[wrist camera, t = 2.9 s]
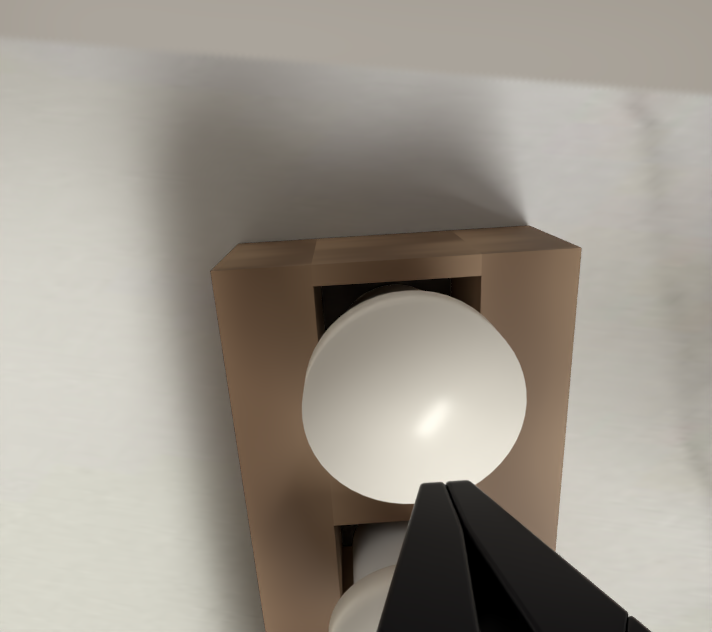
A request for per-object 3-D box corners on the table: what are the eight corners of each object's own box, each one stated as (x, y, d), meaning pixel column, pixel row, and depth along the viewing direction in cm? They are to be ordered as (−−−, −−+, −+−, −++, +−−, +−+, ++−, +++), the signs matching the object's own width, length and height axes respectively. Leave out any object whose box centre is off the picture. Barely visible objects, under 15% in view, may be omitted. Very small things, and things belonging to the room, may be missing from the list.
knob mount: (528, 225, 17) (581, 247, 14) (505, 678, 24) (535, 776, 21) (238, 243, 17) (210, 271, 14) (298, 693, 24) (290, 794, 21)
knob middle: (473, 478, 18) (516, 584, 13) (471, 593, 19) (508, 719, 15) (325, 488, 18) (320, 597, 13) (335, 602, 19) (334, 732, 15)
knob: (478, 253, 15) (532, 295, 11) (475, 407, 17) (521, 496, 13) (304, 263, 15) (290, 311, 11) (318, 417, 17) (311, 510, 13)
